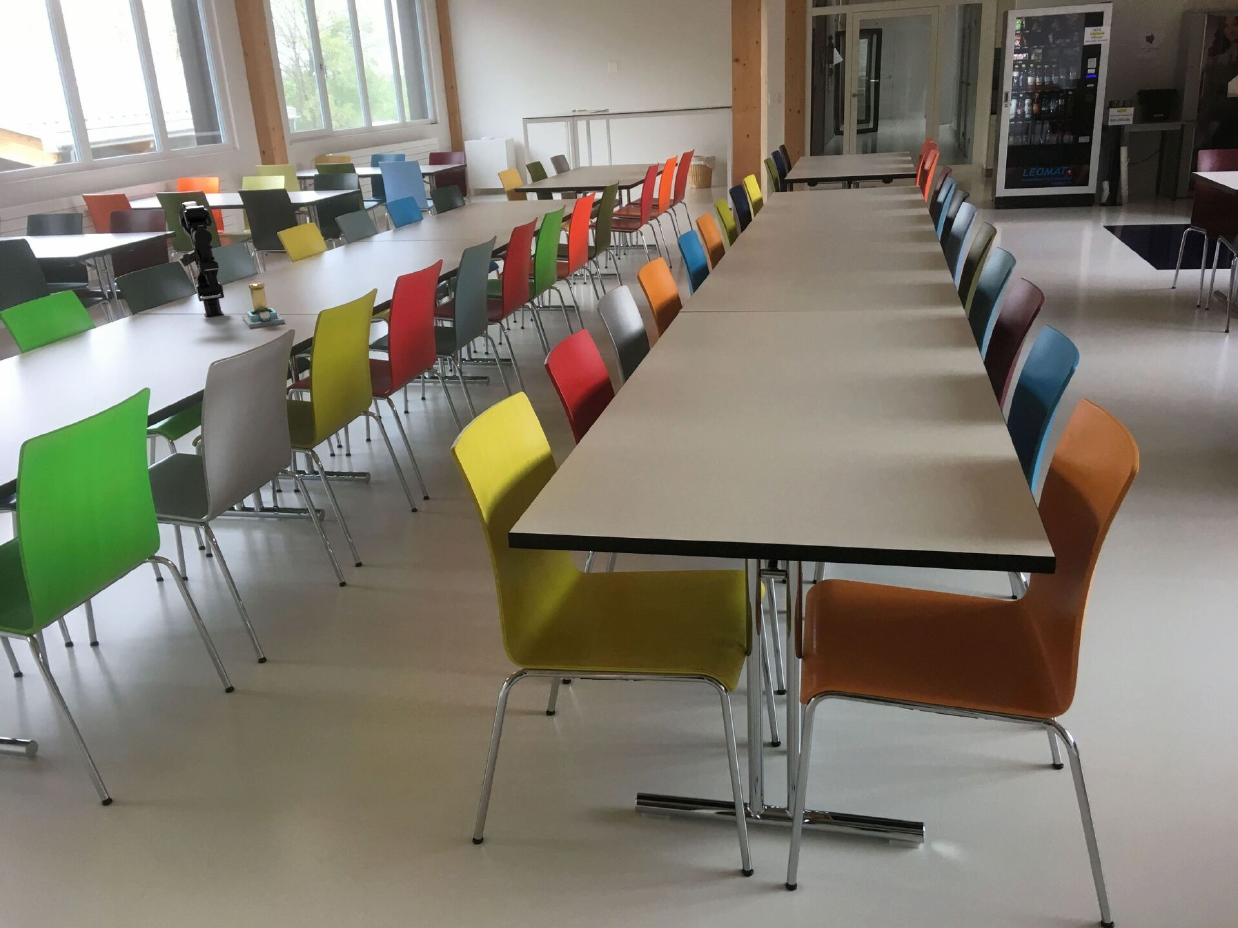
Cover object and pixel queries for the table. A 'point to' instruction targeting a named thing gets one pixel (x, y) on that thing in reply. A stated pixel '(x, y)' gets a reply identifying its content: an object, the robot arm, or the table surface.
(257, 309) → the brass fitting
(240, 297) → the table surface
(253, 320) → the manifold board
